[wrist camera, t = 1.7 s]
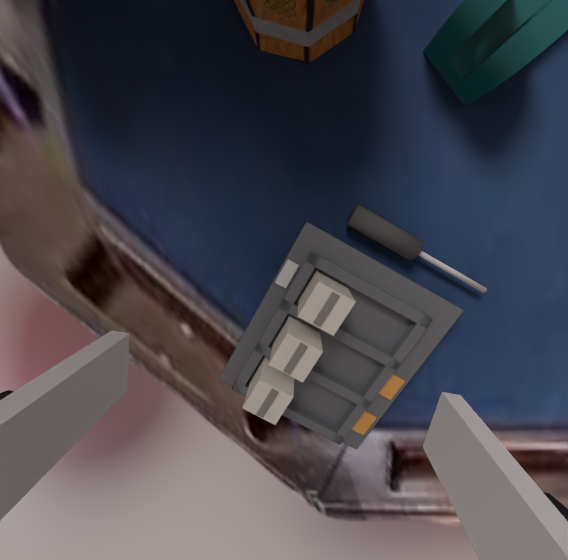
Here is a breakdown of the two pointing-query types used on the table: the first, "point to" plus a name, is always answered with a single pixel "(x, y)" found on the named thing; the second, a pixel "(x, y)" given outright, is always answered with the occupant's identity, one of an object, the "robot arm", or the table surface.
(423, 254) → the screwdriver
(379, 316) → the switch bank
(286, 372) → the white grooved block
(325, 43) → the mug
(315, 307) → the small white box
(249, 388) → the small white box
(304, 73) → the table surface
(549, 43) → the bracket
